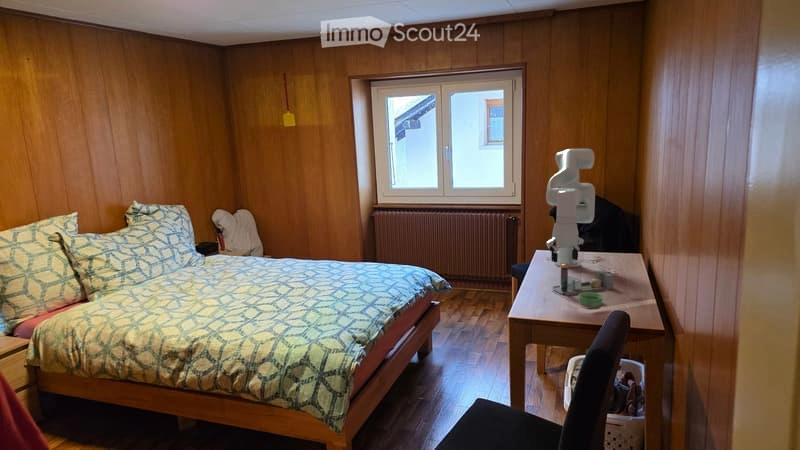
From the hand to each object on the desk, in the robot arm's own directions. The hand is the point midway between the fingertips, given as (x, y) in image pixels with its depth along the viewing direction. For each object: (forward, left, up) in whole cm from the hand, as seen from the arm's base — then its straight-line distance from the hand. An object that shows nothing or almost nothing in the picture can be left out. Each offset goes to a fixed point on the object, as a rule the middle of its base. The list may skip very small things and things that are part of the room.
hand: (564, 260), depth 207 cm
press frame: (0, +11, -15) cm, 19 cm away
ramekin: (+15, +2, -16) cm, 22 cm away
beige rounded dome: (0, +16, -14) cm, 21 cm away
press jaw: (0, +2, -13) cm, 14 cm away
